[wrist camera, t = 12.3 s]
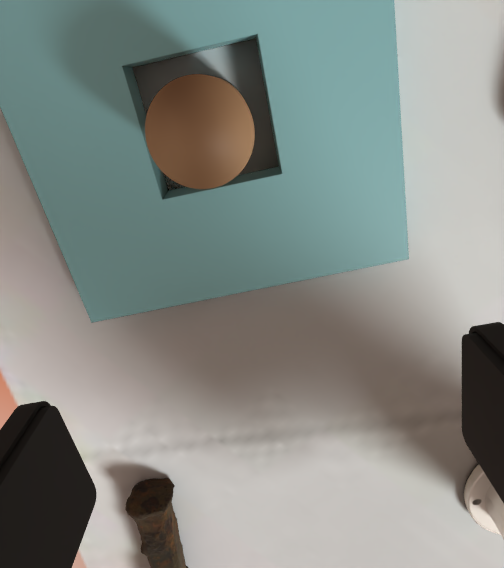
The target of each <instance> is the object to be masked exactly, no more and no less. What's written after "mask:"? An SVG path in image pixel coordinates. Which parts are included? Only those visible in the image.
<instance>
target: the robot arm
mask: <svg viewBox="0 0 504 568" xmlns="http://www.w3.org/2000/svg"><path fill="white" fill-rule="evenodd" d="M462 432H463V436H464V439H465V442H466V444H467V446H468V447H469V449H470V451H471V452H472V454H473V455H474V457H475V459H476V460H477V462H478V463H479V464H478V465H477V467H476V468H475V469H474V470H473V472H472V473H471V475H470V477H469V478H468V480H467V483H466V486H465V489H464V500H465V505H466V507H467V509H468V511H469V513H470V515H471V517H472V518H473V519H474V520H475V522H476V523H477V524H479V525H480V526H481V527H483V528H484V529H486V530H489V531H491V532H493V533H497V534H501V535H502V537H503V539H504V324H502V323H500V322H496V323H490V324H484V325H479V326H473V327H471V328H470V331H469V334H466V335H464V336H463V337H462ZM95 502H96V488H95V485H94V483H93V481H92V479H91V477H90V475H89V473H88V471H87V469H86V467H85V464H84V462H83V460H82V458H81V456H80V454H79V452H78V450H77V448H76V446H75V444H74V442H73V440H72V437H71V435H70V433H69V431H68V429H67V427H66V425H65V423H64V421H63V419H62V417H61V415H60V412H59V411H58V409H57V408H56V407H55V406H51V405H50V404H49V403H48V402H46V401H41V402H36V403H30V404H24V405H20V406H18V407H17V408H16V409H15V410H14V412H13V413H12V415H11V416H10V417H9V419H8V420H7V422H6V423H5V424H4V426H3V427H2V428H1V430H0V568H72V565H73V562H74V560H75V557H76V554H77V552H78V549H79V546H80V543H81V541H82V538H83V535H84V532H85V530H86V527H87V524H88V521H89V519H90V516H91V513H92V511H93V508H94V505H95Z"/></svg>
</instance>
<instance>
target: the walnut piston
mask: <svg viewBox="0 0 504 568" xmlns="http://www.w3.org/2000/svg"><path fill="white" fill-rule="evenodd" d="M145 137H146V142H147V147H148V149H149V152H150V154H151V156H152V158H153V160H154V162H155V163H156V165H157V166H158V167H159V169H160V170H161V171H162V172H163V173H164V174H165V175H166V176H167V177H169V178H170V179H172V180H173V181H175V182H176V183H178V184H180V185H183V186H186V187H189V188H193V189H211V188H216V187H219V186H222V185H224V184H226V183H228V182H229V181H231V180H233V179H234V178H235V177H236V176H237V175H238V174H239V173H240V172H241V171H242V170H243V169H244V167H245V166H246V164H247V162H248V161H249V159H250V156H251V153H252V150H253V146H254V139H255V129H254V122H253V118H252V115H251V112H250V110H249V108H248V106H247V104H246V102H245V100H244V98H243V96H242V95H241V94H240V92H239V91H238V90H237V89H236V88H235V87H234V86H233V85H232V84H230V83H229V82H227V81H225V80H223V79H221V78H217V77H213V76H209V75H202V74H192V75H185V76H182V77H179V78H177V79H175V80H173V81H171V82H169V83H168V84H166V85H165V86H164V87H163V88H162V89H161V90H160V91H159V92H158V93H157V94H156V96H155V97H154V99H153V100H152V102H151V104H150V107H149V109H148V112H147V116H146V122H145Z"/></svg>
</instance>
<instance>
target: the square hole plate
mask: <svg viewBox="0 0 504 568" xmlns="http://www.w3.org/2000/svg"><path fill="white" fill-rule="evenodd" d="M254 38H256V41H257V47H258V53H259V58H260V64H261V69H262V75H263V81H264V86H265V92H266V98H267V103H268V109H269V114H270V120H271V126H272V131H273V137H274V142H275V148H276V154H277V159H278V165H279V167H275V168H270V169H265V170H261V171H256V172H252V173H247V174H242V175H238V176H236V177H235V178H234V179H233V180H231V181H229V182H228V183H226V184H224V185H222V186H219V187H216V188H211V189H193V188H189V187H183V188H178V189H173V190H169V191H168V188H167V185H166V182H165V178H164V175H163V172H162V171H161V170H160V169H159V167H158V166H157V165H156V163H155V162H154V160H153V158H152V156H151V154H150V152H149V149H148V147H147V142H146V137H145V122H146V113H145V110H144V106H143V103H142V99H141V96H140V93H139V89H138V86H137V82H136V79H135V75H134V72H133V69H132V67H136V66H140V65H144V64H148V63H152V62H157V61H161V60H165V59H169V58H174V57H178V56H182V55H186V54H191V53H195V52H199V51H203V50H208V49H212V48H216V47H220V46H225V45H229V44H233V43H237V42H242V41H246V40H250V39H254ZM0 108H1V110H2V112H3V115H4V117H5V120H6V122H7V124H8V127H9V129H10V131H11V134H12V136H13V138H14V141H15V143H16V145H17V148H18V150H19V153H20V155H21V157H22V160H23V162H24V164H25V167H26V169H27V171H28V174H29V176H30V179H31V181H32V183H33V186H34V188H35V190H36V193H37V195H38V197H39V200H40V202H41V204H42V207H43V209H44V212H45V214H46V216H47V219H48V221H49V223H50V226H51V228H52V230H53V233H54V235H55V238H56V240H57V242H58V245H59V247H60V249H61V252H62V254H63V256H64V259H65V261H66V263H67V266H68V268H69V271H70V273H71V275H72V278H73V280H74V282H75V285H76V287H77V289H78V292H79V294H80V297H81V299H82V301H83V304H84V306H85V308H86V311H87V313H88V315H89V318H90V320H91V322H92V323H93V322H97V321H102V320H107V319H112V318H117V317H122V316H127V315H132V314H137V313H142V312H147V311H152V310H157V309H162V308H167V307H172V306H177V305H182V304H187V303H192V302H197V301H202V300H207V299H212V298H217V297H222V296H227V295H232V294H237V293H242V292H247V291H252V290H257V289H262V288H267V287H272V286H277V285H282V284H287V283H292V282H297V281H302V280H307V279H312V278H317V277H322V276H327V275H332V274H337V273H342V272H347V271H352V270H357V269H362V268H367V267H372V266H377V265H382V264H387V263H392V262H397V261H402V260H407V259H409V254H408V236H407V219H406V201H405V183H404V166H403V148H402V131H401V113H400V96H399V78H398V61H397V43H396V25H395V8H394V0H0Z"/></svg>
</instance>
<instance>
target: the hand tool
mask: <svg viewBox="0 0 504 568" xmlns="http://www.w3.org/2000/svg"><path fill="white" fill-rule="evenodd" d="M173 488H174V484H173V483H172V482H171V480H170V479H169V478H164V479H149V480H145V481H141V482H139V483H138V484H136V485H135V486H134V488H133V489H132V492H131V495H130V497H129V498H128V500H127V503H126V511H127V513H128V514H129V515H130V516H131V517H132V518H133V519H134V520H135V521H136V523H137V526H138V529H139V532H140V534H141V540H142V545H141V553H143V554H145V555H146V556H147V557H148V560H149V563H150V566H151V568H188V567H187V566H186V565H185V559H184V555H183V548H182V544H181V541H180V536H179V530H178V524H177V518H176V517H175V513H174V511H173V506H172V503H171V501H172V497H173Z"/></svg>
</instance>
